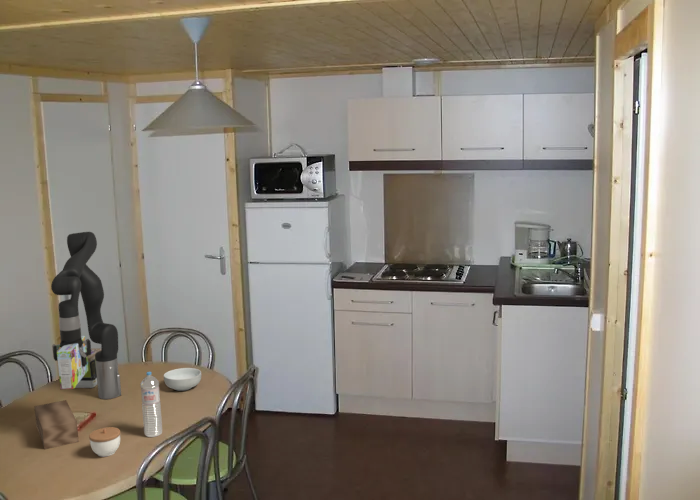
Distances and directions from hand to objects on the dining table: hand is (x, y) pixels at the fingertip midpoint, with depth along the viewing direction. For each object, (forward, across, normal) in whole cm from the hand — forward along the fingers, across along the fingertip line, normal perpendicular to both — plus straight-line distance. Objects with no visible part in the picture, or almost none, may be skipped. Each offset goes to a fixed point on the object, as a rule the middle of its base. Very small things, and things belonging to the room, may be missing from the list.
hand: (73, 367), depth 272 cm
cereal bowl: (+25, -49, -21) cm, 59 cm away
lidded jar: (+25, -5, +29) cm, 39 cm away
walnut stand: (+25, +8, 0) cm, 26 cm away
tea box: (+25, -15, -53) cm, 61 cm away
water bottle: (+25, -24, +22) cm, 41 cm away
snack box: (+5, 0, 0) cm, 5 cm away
